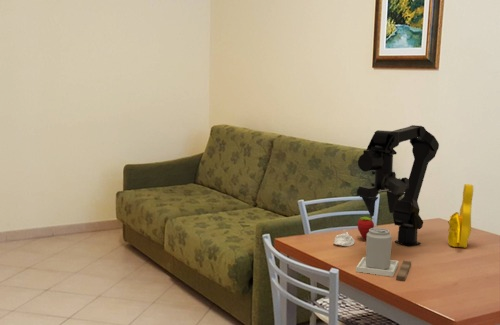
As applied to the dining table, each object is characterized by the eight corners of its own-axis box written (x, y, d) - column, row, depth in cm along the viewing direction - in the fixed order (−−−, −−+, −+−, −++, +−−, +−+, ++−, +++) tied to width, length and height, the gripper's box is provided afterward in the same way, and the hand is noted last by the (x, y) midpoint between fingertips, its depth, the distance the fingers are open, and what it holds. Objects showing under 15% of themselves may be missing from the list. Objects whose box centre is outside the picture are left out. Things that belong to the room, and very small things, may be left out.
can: (383, 273, 174) (385, 234, 172) (361, 268, 178) (362, 230, 177) (394, 266, 180) (395, 229, 178) (372, 262, 184) (373, 225, 182)
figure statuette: (442, 238, 214) (446, 179, 211) (465, 239, 212) (468, 180, 209) (451, 252, 196) (454, 188, 193) (475, 253, 195) (479, 189, 192)
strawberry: (371, 236, 215) (372, 210, 214) (375, 242, 208) (376, 215, 207) (355, 236, 216) (356, 210, 214) (358, 242, 208) (359, 214, 207)
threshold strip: (403, 264, 184) (403, 260, 184) (411, 265, 183) (411, 261, 183) (396, 280, 169) (396, 276, 169) (404, 281, 168) (404, 277, 168)
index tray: (363, 261, 186) (363, 256, 186) (398, 265, 182) (398, 261, 182) (356, 272, 176) (356, 266, 176) (393, 276, 172) (393, 271, 172)
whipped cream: (343, 251, 201) (344, 238, 200) (328, 245, 205) (328, 232, 204) (356, 245, 206) (357, 232, 205) (341, 239, 211) (342, 227, 210)
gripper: (382, 174, 181) (380, 223, 183) (421, 169, 191) (419, 215, 193) (356, 169, 190) (355, 216, 192) (395, 165, 200) (393, 209, 202)
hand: (381, 214), depth 195 cm, fingers open, 9 cm apart
